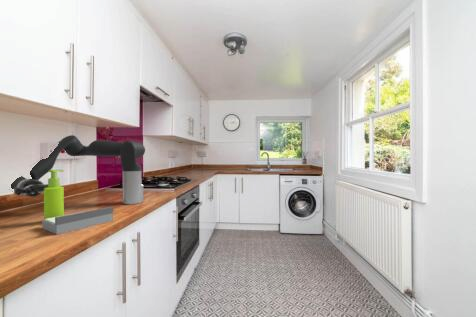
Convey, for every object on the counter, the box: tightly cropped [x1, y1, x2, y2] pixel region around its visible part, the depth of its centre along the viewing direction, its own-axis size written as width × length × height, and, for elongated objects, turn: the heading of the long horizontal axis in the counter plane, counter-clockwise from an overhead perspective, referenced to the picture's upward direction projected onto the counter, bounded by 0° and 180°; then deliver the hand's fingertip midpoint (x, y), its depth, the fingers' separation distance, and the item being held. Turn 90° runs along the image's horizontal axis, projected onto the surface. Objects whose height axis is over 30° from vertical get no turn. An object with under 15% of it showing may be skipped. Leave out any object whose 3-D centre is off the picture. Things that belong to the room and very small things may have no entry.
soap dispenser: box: [43, 169, 65, 220], centre depth 86 cm, size 6×7×20 cm
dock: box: [41, 206, 114, 236], centre depth 82 cm, size 18×12×5 cm, turn 148°
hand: (44, 190), depth 92 cm, fingers open, 8 cm apart
